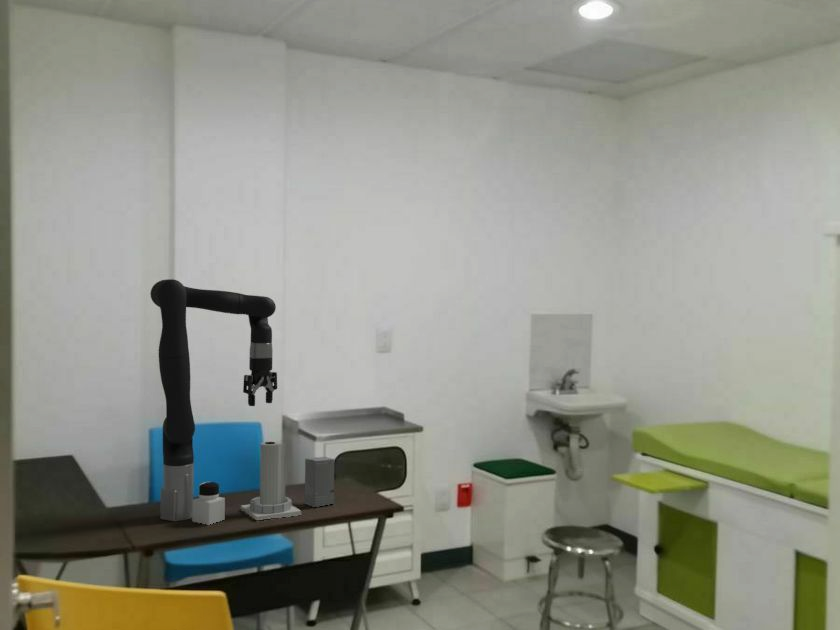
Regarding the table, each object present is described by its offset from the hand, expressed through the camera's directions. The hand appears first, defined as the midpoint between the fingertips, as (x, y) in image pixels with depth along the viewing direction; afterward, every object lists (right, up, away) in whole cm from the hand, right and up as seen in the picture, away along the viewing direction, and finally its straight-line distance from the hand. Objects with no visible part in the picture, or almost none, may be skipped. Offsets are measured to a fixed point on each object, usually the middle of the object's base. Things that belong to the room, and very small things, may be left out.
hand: (260, 404), depth 278 cm
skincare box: (+19, -35, +4) cm, 40 cm away
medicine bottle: (-13, -35, -18) cm, 41 cm away
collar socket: (+5, -34, -7) cm, 36 cm away
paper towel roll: (+5, -33, -8) cm, 34 cm away
